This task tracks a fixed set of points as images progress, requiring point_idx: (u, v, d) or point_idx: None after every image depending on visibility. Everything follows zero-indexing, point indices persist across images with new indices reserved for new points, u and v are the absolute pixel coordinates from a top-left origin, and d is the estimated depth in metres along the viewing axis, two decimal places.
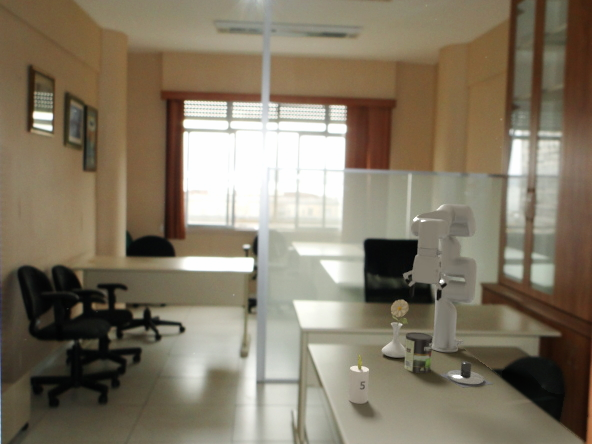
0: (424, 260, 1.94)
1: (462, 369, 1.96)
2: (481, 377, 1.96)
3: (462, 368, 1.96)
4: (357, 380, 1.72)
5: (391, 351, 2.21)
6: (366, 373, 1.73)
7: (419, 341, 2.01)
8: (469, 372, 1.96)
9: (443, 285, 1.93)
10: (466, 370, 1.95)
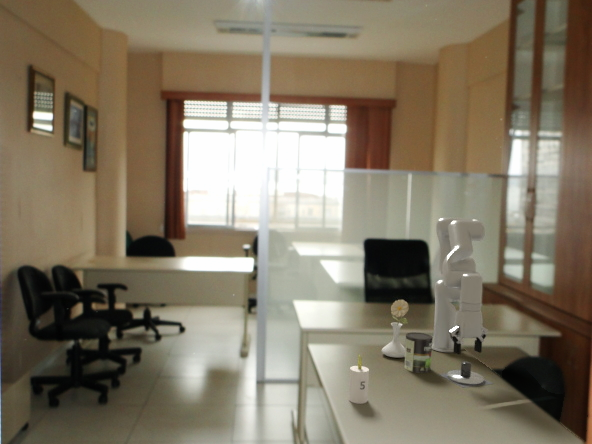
0: (472, 315, 1.93)
1: (462, 369, 1.96)
2: (481, 377, 1.96)
3: (462, 368, 1.96)
4: (357, 380, 1.72)
5: (391, 351, 2.21)
6: (366, 373, 1.73)
7: (419, 341, 2.01)
8: (469, 372, 1.96)
9: (483, 336, 1.98)
10: (466, 370, 1.95)
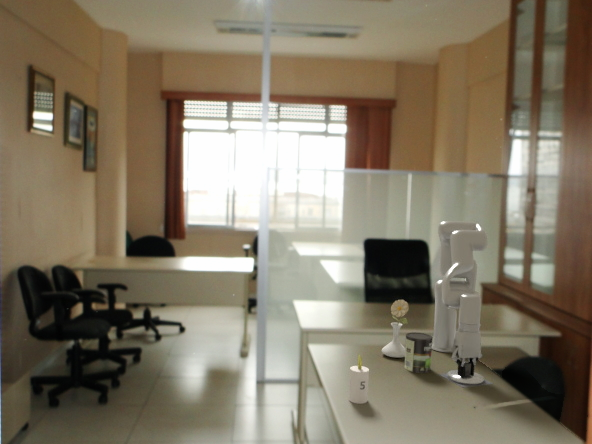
0: (471, 335, 1.94)
1: None
2: (481, 377, 1.96)
3: None
4: (357, 380, 1.72)
5: (391, 351, 2.21)
6: (366, 373, 1.73)
7: (419, 341, 2.01)
8: (469, 372, 1.96)
9: (476, 360, 1.98)
10: (466, 370, 1.95)
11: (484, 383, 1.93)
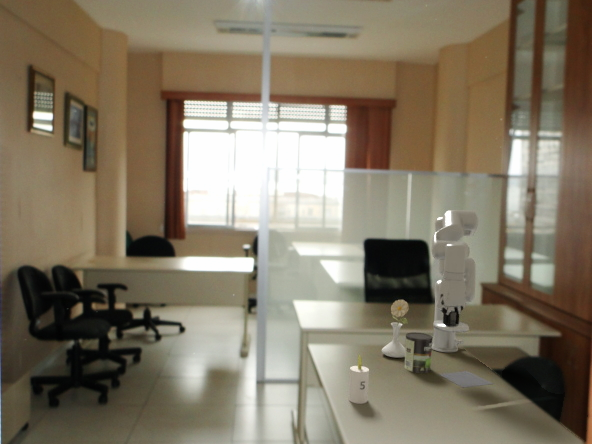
0: (456, 284, 1.96)
1: None
2: (466, 325, 1.99)
3: None
4: (357, 380, 1.72)
5: (391, 351, 2.21)
6: (366, 373, 1.73)
7: (419, 341, 2.01)
8: (454, 320, 1.98)
9: (461, 309, 2.00)
10: (452, 319, 1.98)
11: (484, 383, 1.93)
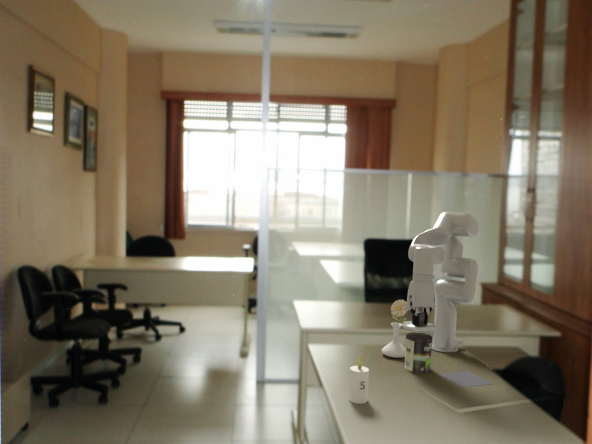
0: (424, 285, 2.02)
1: None
2: (434, 326, 2.05)
3: None
4: (357, 380, 1.72)
5: (391, 351, 2.21)
6: (366, 373, 1.73)
7: (419, 341, 2.01)
8: (423, 321, 2.04)
9: (429, 310, 2.06)
10: (420, 319, 2.04)
11: (484, 383, 1.93)
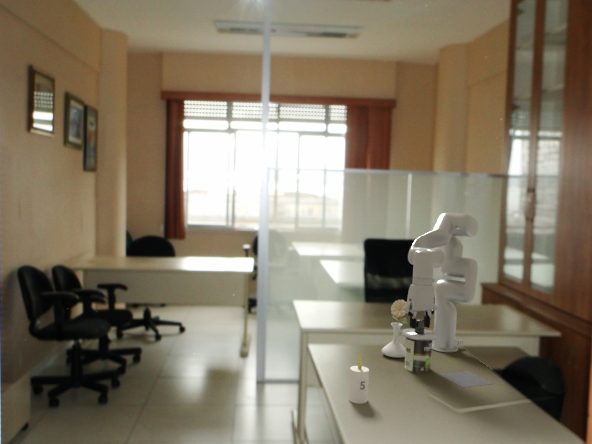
0: (424, 289, 2.03)
1: (416, 326, 2.05)
2: (434, 334, 2.05)
3: (416, 325, 2.05)
4: (357, 380, 1.72)
5: (391, 351, 2.21)
6: (366, 373, 1.73)
7: (419, 341, 2.01)
8: (422, 329, 2.05)
9: (432, 312, 2.07)
10: (420, 327, 2.04)
11: (484, 383, 1.93)
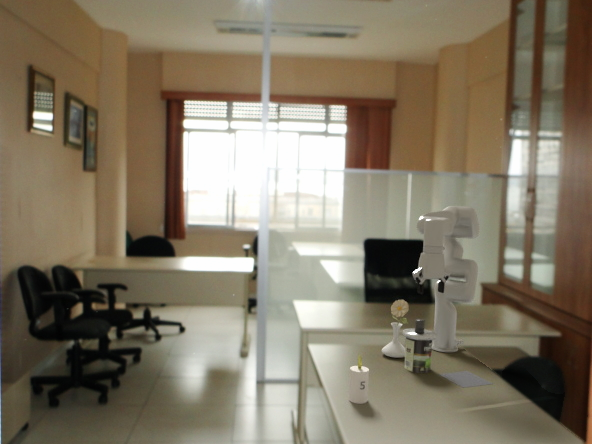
0: (434, 257, 2.04)
1: (416, 326, 2.05)
2: (434, 334, 2.05)
3: (416, 325, 2.05)
4: (357, 380, 1.72)
5: (391, 351, 2.21)
6: (366, 373, 1.73)
7: (419, 341, 2.01)
8: (422, 329, 2.05)
9: (446, 278, 2.09)
10: (420, 327, 2.04)
11: (484, 383, 1.93)
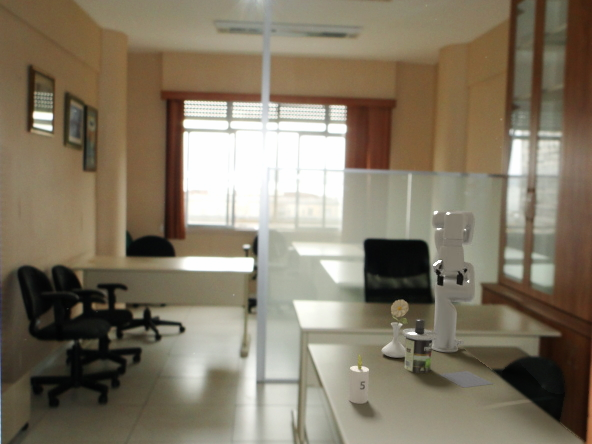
0: (454, 250, 2.09)
1: (416, 326, 2.05)
2: (434, 334, 2.05)
3: (416, 325, 2.05)
4: (357, 380, 1.72)
5: (391, 351, 2.21)
6: (366, 373, 1.73)
7: (419, 341, 2.01)
8: (422, 329, 2.05)
9: (465, 271, 2.14)
10: (420, 327, 2.04)
11: (484, 383, 1.93)
